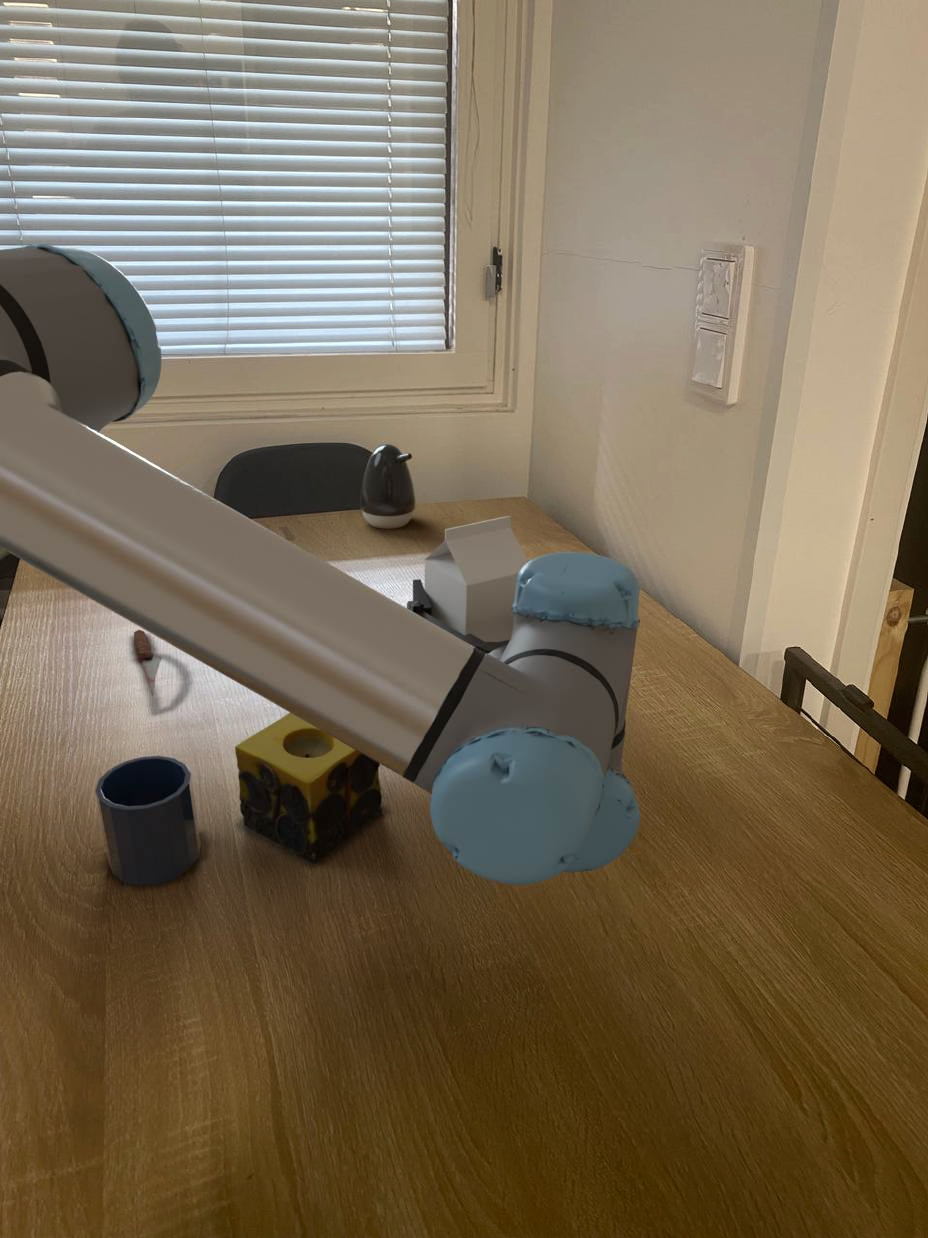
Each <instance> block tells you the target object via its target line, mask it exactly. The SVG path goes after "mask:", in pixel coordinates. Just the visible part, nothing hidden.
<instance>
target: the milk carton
mask: <svg viewBox="0 0 928 1238" xmlns="http://www.w3.org/2000/svg"><path fill="white" fill-rule="evenodd" d="M511 521H512V516H511V515H505V516H501V517H496V518H492V519H486V520H483V521H478V522H472V523H467V524H464V525H463V524H462V525H459V526H453V527H450V528H445V529H444V541H443V542H442V543H441V544H440V545H438V546H437V547H436V548H435V549H434V550H433V551H432V552H431V553H429V554H428V555H427V556H426V557H425V558H424V589H425V592H426V594H427V597H428V600H429V602H430V605H431V607H432V617H434V618H436V619H437V620H439V621H441V622H443V623H444V624H446V625H448V626H449V627H451V628H453V629H455V630H456V631H458V632H460V633H461V634H463V635H467V634H472V635H474V636H476V637H477V638H479V639H481V640H483V641H484V642H501V641H506V640H510V639H511V635H512V630H513V612H512V611H511V605H512V604H513V603H514V600H515V591H516V583H517V576H518V574H519V572H520V570H521V568H522V567H523V566H524V565H525V564H526V563H528V562H529V561H528V559H527V557H526V555H525V553H524V550H523V549H522V547H521V545H520V543H519V541H518V539H517V537H516V534H514V531H513V529H512V528H511V525H512V524H511V523H512V522H511Z"/></svg>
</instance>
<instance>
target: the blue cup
mask: <svg viewBox="0 0 928 1238" xmlns="http://www.w3.org/2000/svg"><path fill="white" fill-rule="evenodd" d="M95 787H96V788H95V790H94V792H95V796H96V801H97V807H98V813H99V819H100V822H101V823H100V824H101V829H102V833H103V834H102V835H103V840H104V844H105V851H106V855H107V861H108V865H109V868H110V871H111V873H112V875H113V876H114V877H115V878H117V880H120V881H121V882H123V883H125V884H129V885H135V886H138V887H139V886H153V885H159V884H162V883H166V882H169V881H171V880H174V879H176V878H179V877H180V876H181V875H183V874H184V873H186V872H187V871H189V870H190V869H192V867H193V866H194V864H195V863H196V862H197V860H198V859H199V858H200V853H201V839H200V831H199V824H198V815H197V807H196V800H195V793H194V785H193V777H192V772H191V770H190V769H189V767H188V765H187V763H185V762H183V761H181V760H180V759H177V758H176V757H170V756H165V755H148V756H147V755H146V756H140V757H139V756H138V757H136V758H132V759H128V760H125V761H122V762H121V763H119V764H117V765H115V766H113V767H111V768H109V769H108V770H107V771H106V772H105V773H104V774H103V775H102V776H101V777H100V778H99V779H98V781H97V784H96V786H95Z"/></svg>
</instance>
